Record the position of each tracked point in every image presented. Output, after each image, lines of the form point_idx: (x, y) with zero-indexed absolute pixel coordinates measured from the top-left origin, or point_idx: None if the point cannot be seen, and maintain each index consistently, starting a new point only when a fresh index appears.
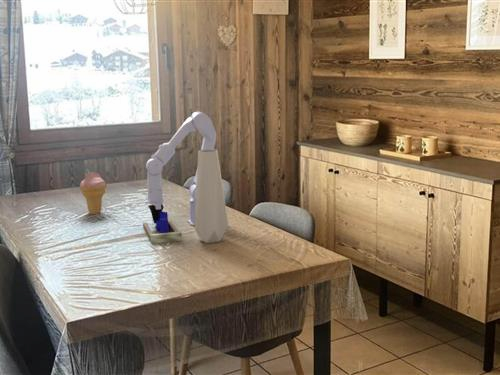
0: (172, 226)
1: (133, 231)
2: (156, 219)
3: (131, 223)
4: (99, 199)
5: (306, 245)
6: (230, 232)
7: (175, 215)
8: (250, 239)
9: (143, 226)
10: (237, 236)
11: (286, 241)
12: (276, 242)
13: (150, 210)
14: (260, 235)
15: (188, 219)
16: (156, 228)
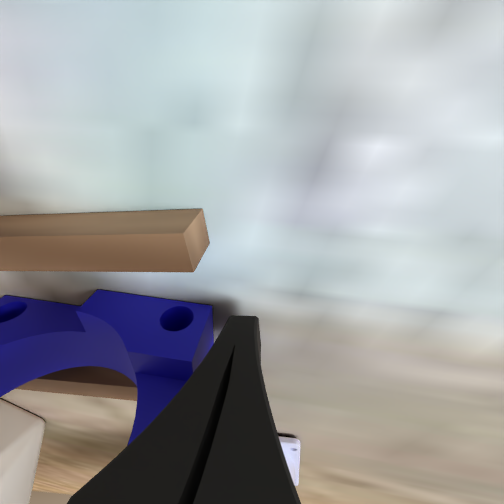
0: (79, 386)
1: (63, 85)
2: (190, 364)
3: (478, 61)
4: None
5: (36, 487)
6: (111, 459)
7: (465, 430)
8: (51, 462)
9: (165, 218)
10: (72, 456)
11: (53, 483)
12: (41, 475)
13: (250, 451)
14: (90, 478)
15: (297, 446)
16: (83, 305)
